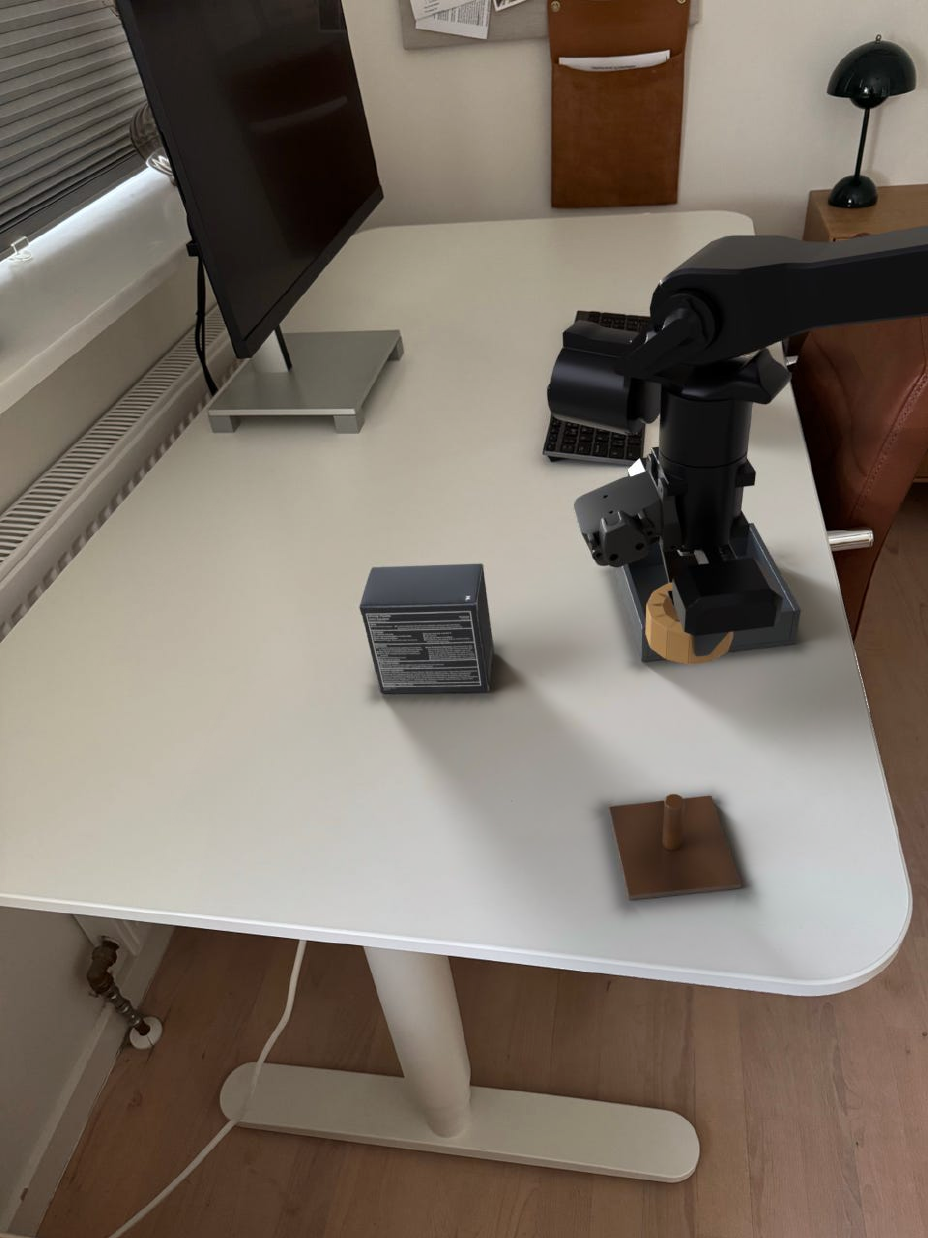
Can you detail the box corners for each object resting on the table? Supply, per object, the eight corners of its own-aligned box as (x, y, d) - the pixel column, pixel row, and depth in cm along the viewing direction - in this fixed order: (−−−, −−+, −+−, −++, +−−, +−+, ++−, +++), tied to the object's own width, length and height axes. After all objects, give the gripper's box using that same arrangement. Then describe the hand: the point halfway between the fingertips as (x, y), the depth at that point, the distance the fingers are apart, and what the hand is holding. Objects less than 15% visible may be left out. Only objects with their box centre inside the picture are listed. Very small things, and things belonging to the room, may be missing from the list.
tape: (717, 605, 72) (720, 575, 70) (742, 658, 67) (746, 628, 65) (638, 615, 72) (639, 586, 70) (657, 669, 67) (658, 639, 65)
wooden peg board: (711, 799, 70) (715, 752, 66) (740, 888, 63) (747, 841, 60) (609, 811, 70) (608, 764, 66) (628, 900, 64) (629, 854, 60)
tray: (749, 555, 93) (753, 522, 90) (795, 644, 82) (801, 610, 79) (613, 571, 93) (613, 539, 91) (641, 662, 82) (642, 628, 80)
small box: (496, 646, 86) (485, 559, 80) (490, 694, 81) (479, 605, 75) (389, 648, 88) (370, 562, 81) (378, 695, 83) (356, 607, 76)
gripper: (560, 398, 66) (567, 567, 76) (608, 541, 52) (609, 726, 62) (710, 379, 66) (697, 551, 76) (800, 517, 52) (769, 706, 61)
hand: (690, 625), depth 69 cm, fingers closed on tape, 6 cm apart
